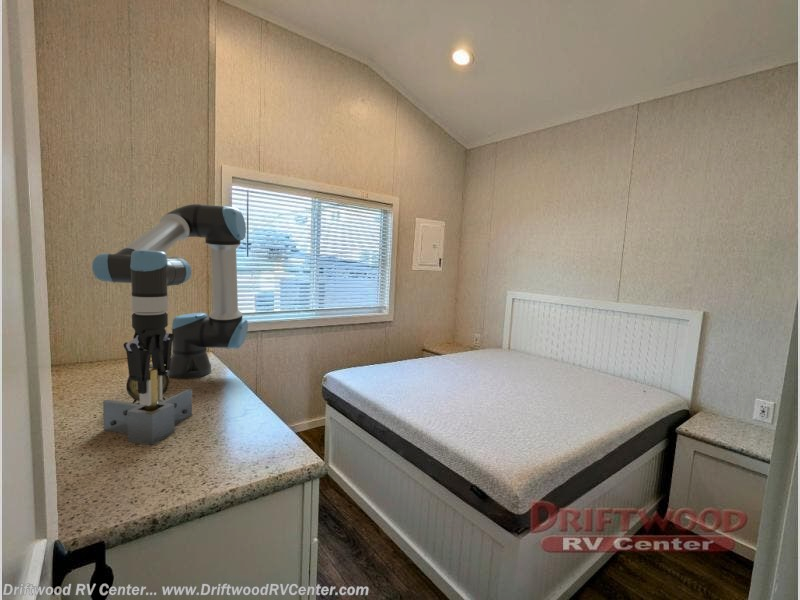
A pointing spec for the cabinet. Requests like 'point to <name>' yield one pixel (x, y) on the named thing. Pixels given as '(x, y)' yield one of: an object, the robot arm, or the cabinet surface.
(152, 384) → the hinge pin
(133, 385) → the alarm clock
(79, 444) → the cabinet surface
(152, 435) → the hinge leaves
